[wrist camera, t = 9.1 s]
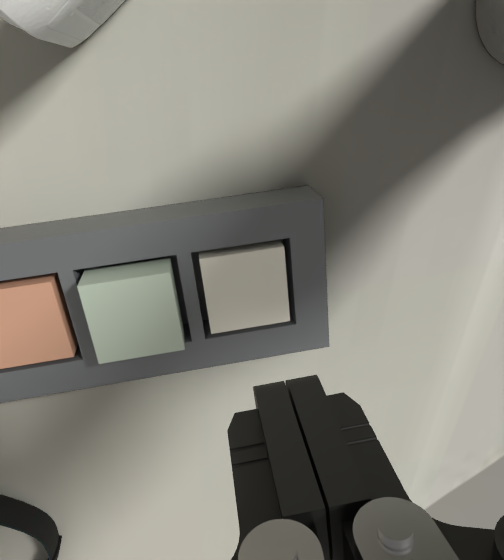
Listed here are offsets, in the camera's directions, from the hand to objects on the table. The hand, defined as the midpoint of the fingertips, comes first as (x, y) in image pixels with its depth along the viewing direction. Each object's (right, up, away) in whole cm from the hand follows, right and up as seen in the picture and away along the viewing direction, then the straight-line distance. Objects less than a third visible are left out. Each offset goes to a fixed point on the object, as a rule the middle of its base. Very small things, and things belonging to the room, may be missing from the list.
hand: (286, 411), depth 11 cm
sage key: (-9, +2, +24) cm, 26 cm away
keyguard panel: (-10, +3, +26) cm, 28 cm away
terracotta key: (-17, +1, +24) cm, 30 cm away
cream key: (-2, +3, +26) cm, 26 cm away
